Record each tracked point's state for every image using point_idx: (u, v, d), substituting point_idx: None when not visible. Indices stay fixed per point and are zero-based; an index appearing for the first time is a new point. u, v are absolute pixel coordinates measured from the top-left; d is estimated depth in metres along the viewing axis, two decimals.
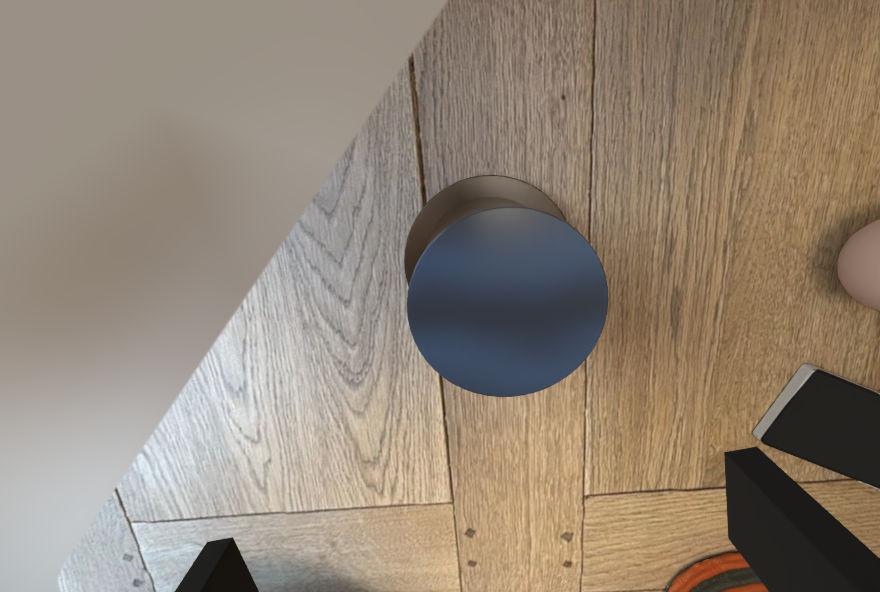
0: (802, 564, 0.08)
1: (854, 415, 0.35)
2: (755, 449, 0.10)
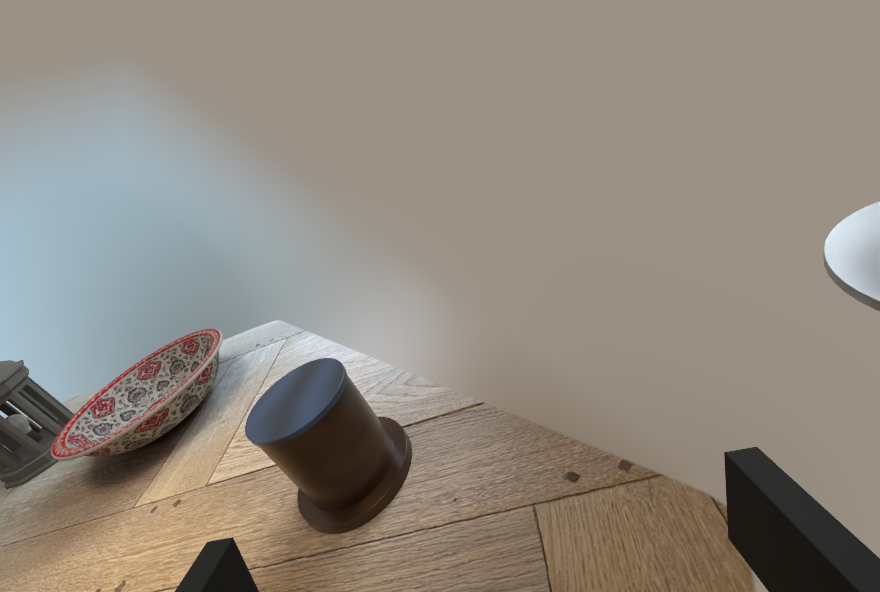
0: (802, 564, 0.08)
1: None
2: (755, 449, 0.10)
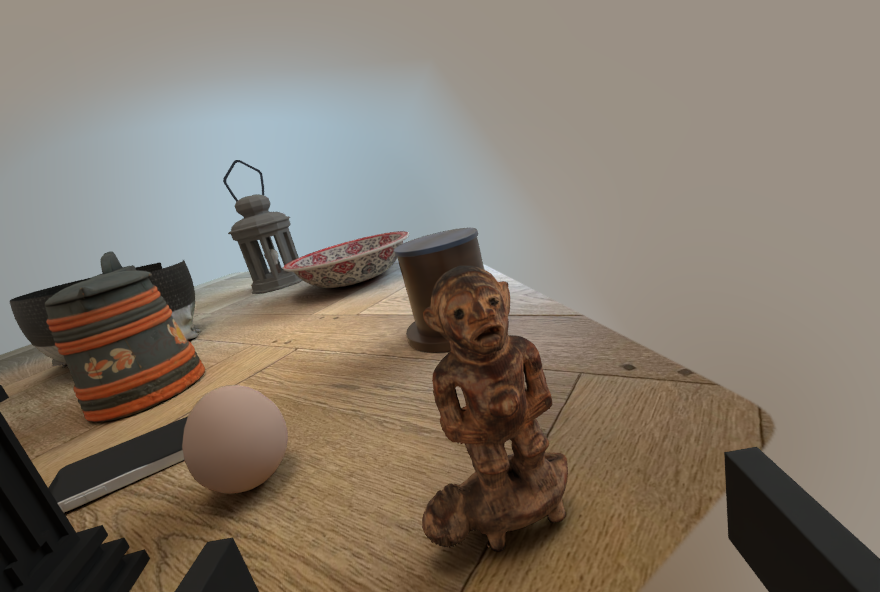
0: (802, 564, 0.08)
1: (161, 447, 0.40)
2: (755, 449, 0.10)
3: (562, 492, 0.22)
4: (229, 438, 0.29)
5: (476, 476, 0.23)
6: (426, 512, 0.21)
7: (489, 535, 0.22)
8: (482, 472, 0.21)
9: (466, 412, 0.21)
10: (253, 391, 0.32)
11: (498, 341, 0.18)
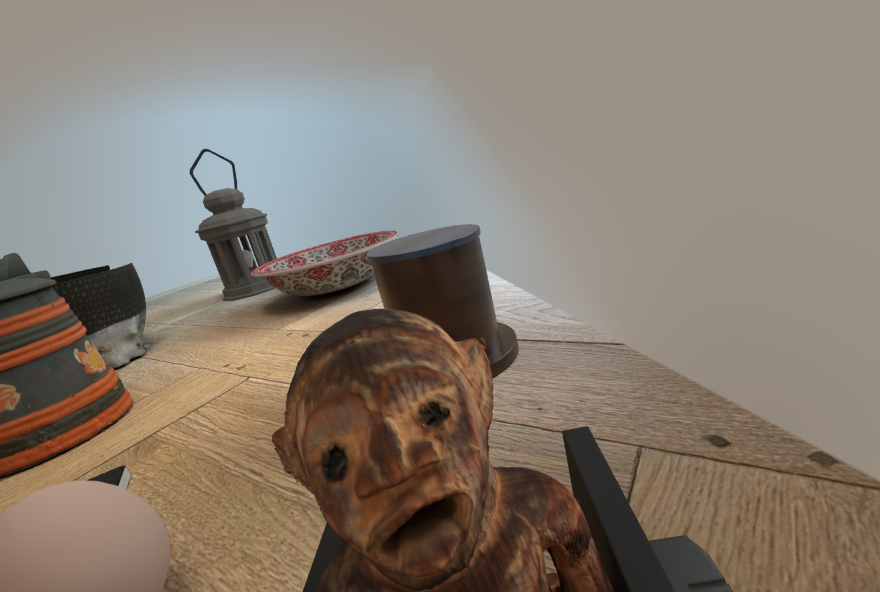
0: (591, 514, 0.10)
1: None
2: (587, 428, 0.12)
3: None
4: None
5: None
6: None
7: None
8: None
9: None
10: (102, 494, 0.19)
11: (453, 553, 0.06)
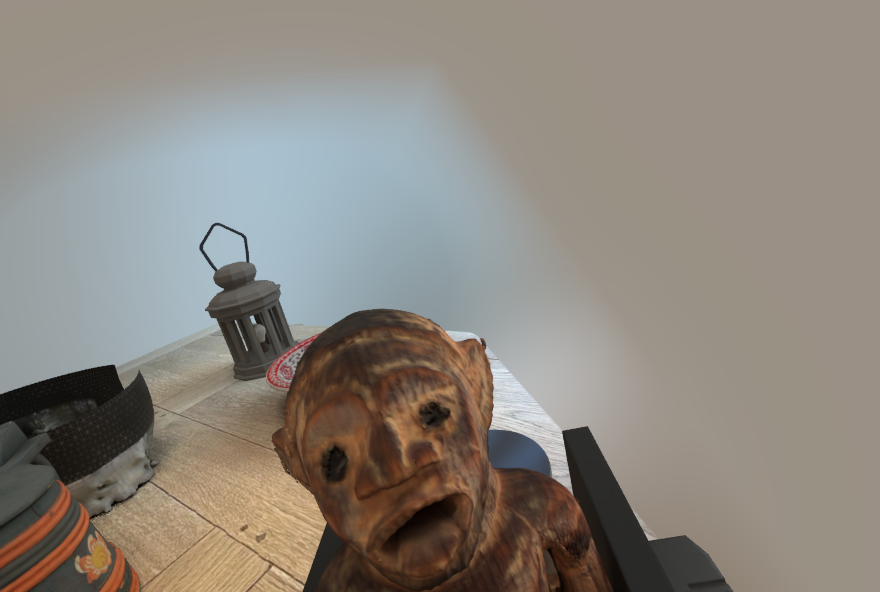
0: (591, 514, 0.10)
1: None
2: (587, 428, 0.12)
3: None
4: None
5: None
6: None
7: None
8: None
9: None
10: None
11: (453, 554, 0.06)
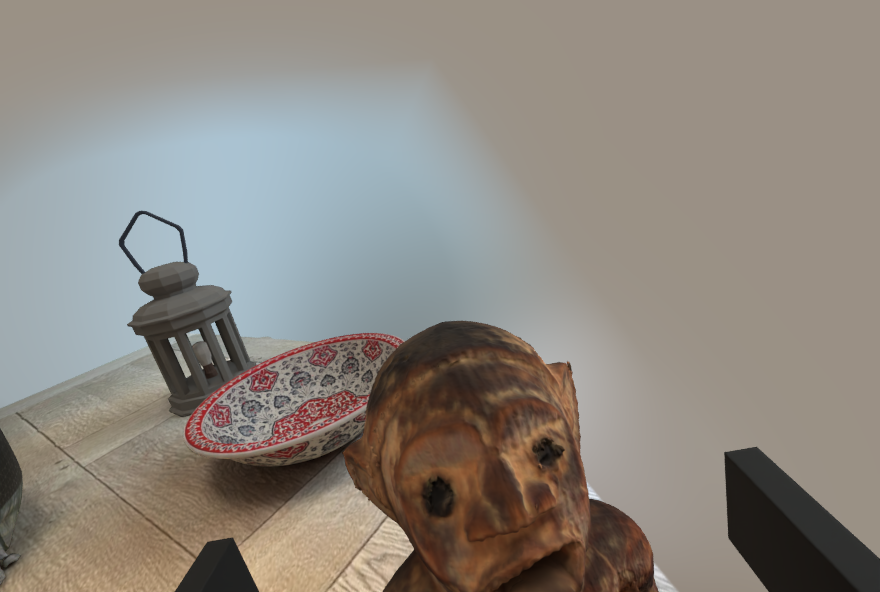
0: (801, 564, 0.08)
1: None
2: (755, 449, 0.10)
3: None
4: None
5: None
6: None
7: None
8: None
9: None
10: None
11: None
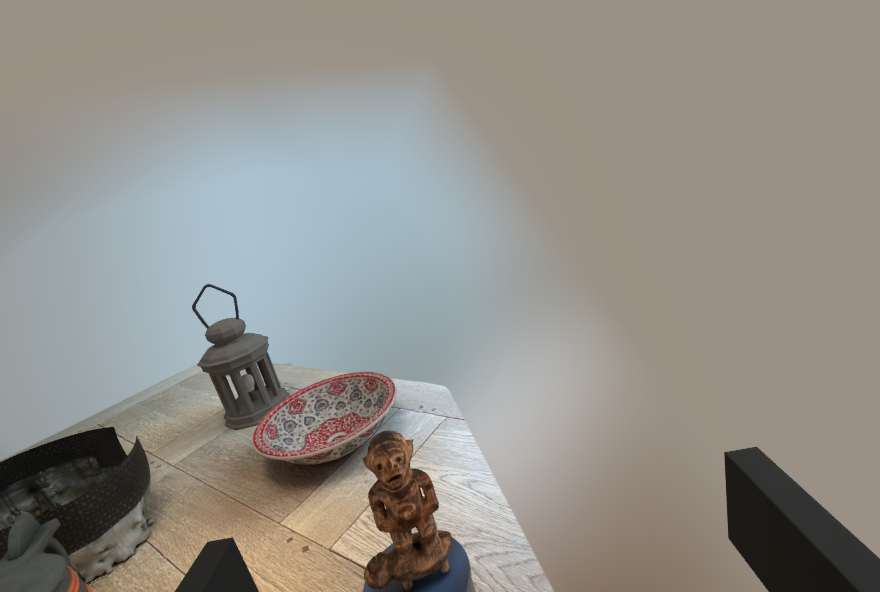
0: (801, 563, 0.08)
1: None
2: (756, 449, 0.10)
3: (445, 557, 0.38)
4: None
5: None
6: (366, 569, 0.37)
7: (402, 582, 0.38)
8: (396, 548, 0.37)
9: (388, 513, 0.37)
10: None
11: (399, 483, 0.34)
